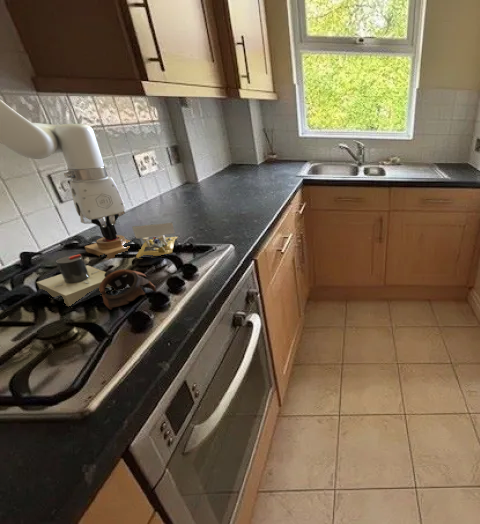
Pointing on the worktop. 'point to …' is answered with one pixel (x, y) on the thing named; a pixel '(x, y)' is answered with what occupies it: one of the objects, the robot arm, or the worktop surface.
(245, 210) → the worktop surface
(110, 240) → the button
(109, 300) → the pottery mug
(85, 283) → the panel
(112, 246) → the button block
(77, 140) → the robot arm
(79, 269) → the dial
